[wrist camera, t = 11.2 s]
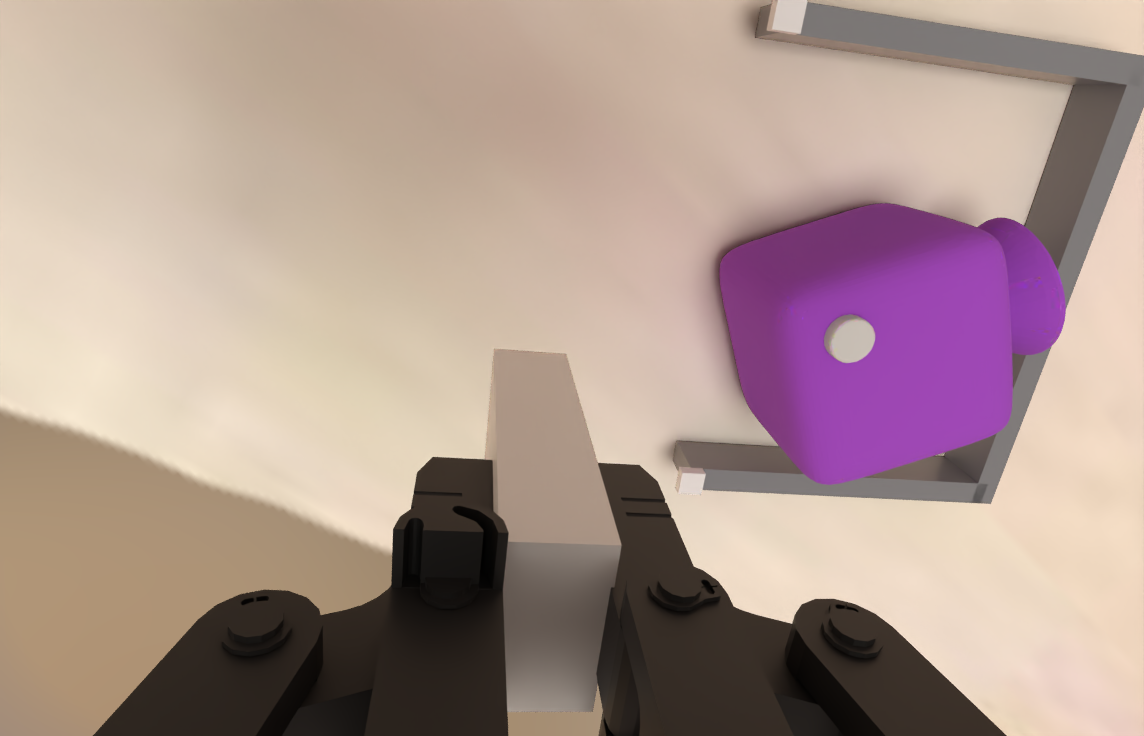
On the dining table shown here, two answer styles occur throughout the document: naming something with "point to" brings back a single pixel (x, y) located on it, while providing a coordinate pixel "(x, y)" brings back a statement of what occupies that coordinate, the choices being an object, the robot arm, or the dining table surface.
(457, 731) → the robot arm
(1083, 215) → the gray bracket frame
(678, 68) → the dining table surface
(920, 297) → the toy camera
